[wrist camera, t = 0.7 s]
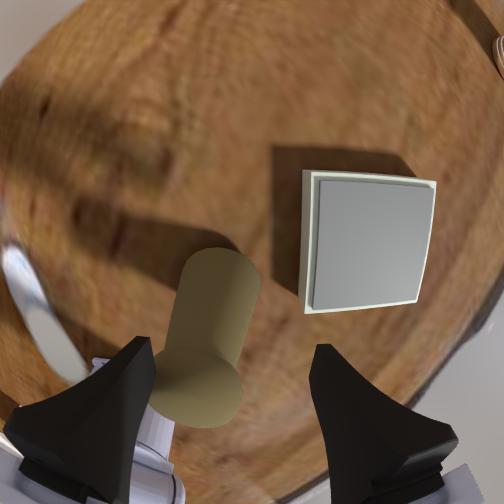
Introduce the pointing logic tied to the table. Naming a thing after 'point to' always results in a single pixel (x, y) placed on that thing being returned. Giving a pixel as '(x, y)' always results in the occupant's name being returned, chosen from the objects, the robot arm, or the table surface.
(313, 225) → the stand
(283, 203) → the table surface
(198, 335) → the cork
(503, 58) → the water bottle
